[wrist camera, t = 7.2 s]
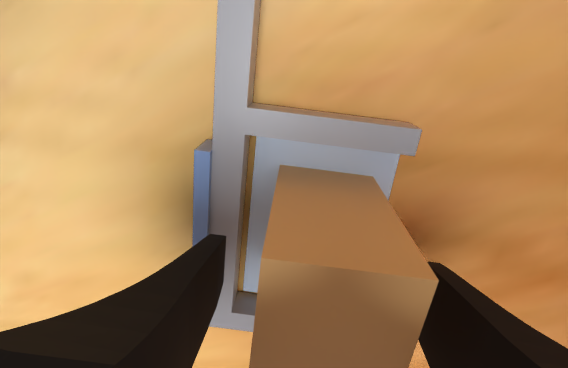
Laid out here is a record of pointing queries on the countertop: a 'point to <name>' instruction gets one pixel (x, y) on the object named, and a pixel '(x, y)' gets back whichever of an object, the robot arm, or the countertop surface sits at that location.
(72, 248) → the countertop surface
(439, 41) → the countertop surface
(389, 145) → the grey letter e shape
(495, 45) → the countertop surface
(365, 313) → the tan cardboard-colored block
